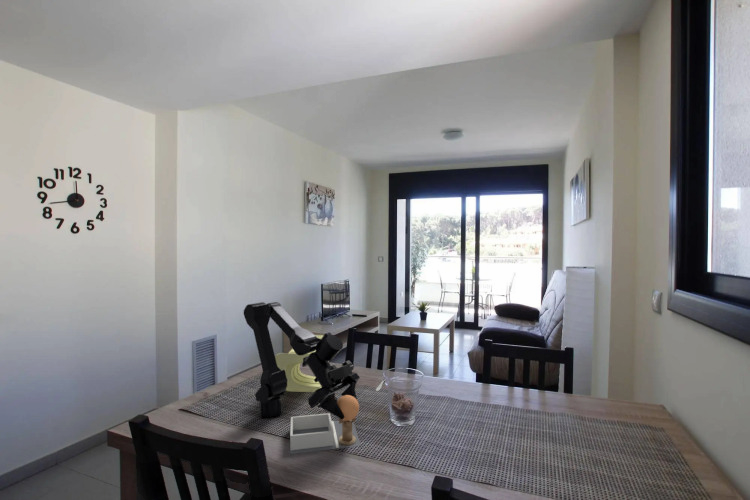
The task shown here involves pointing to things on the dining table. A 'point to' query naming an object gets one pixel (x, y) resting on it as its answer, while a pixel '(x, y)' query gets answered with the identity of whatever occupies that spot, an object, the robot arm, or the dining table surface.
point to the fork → (379, 386)
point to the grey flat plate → (337, 434)
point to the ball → (348, 407)
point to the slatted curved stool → (296, 372)
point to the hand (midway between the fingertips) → (351, 413)
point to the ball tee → (347, 432)
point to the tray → (311, 438)
